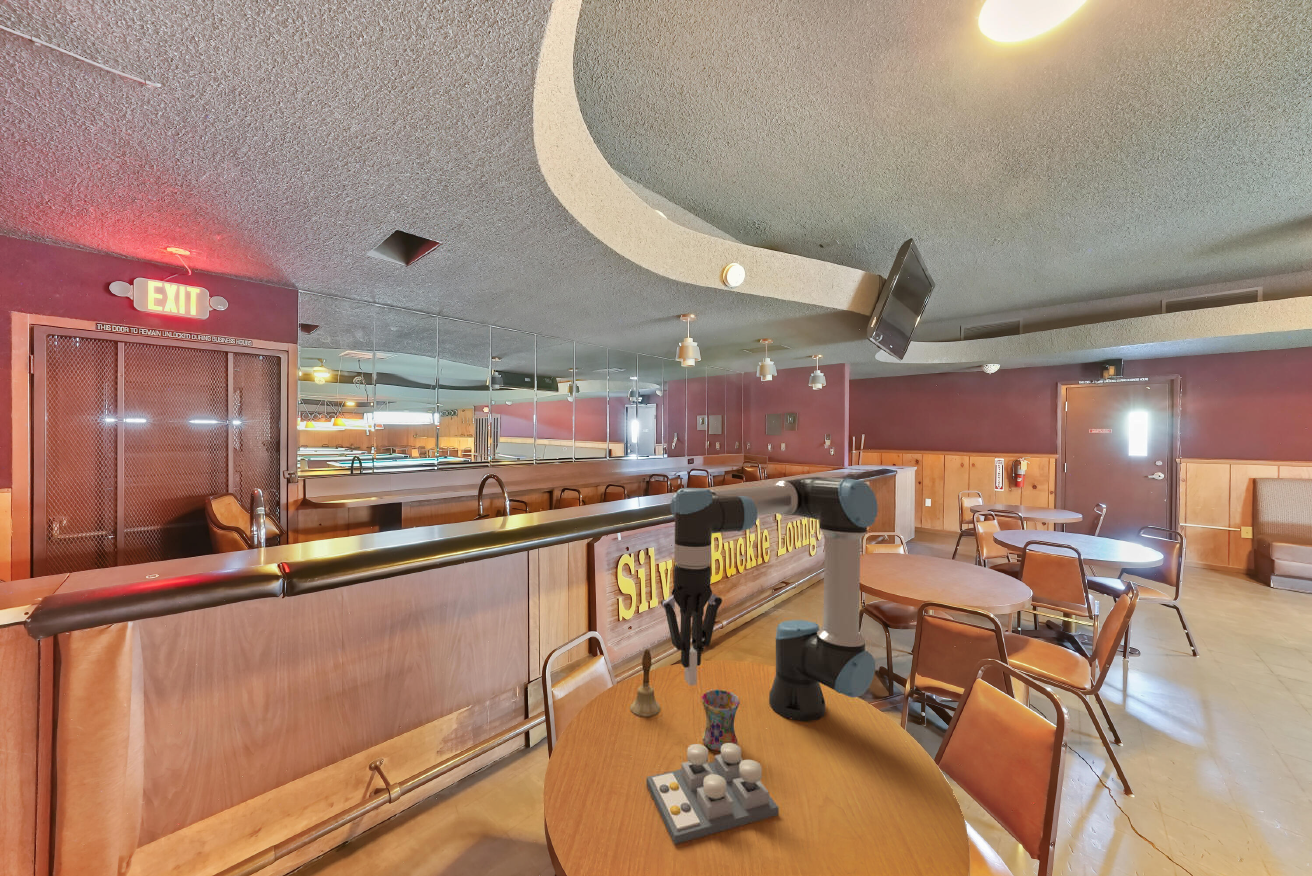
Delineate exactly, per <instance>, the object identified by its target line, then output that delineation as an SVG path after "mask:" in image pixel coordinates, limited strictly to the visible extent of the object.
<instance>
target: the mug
mask: <svg viewBox="0 0 1312 876" xmlns="http://www.w3.org/2000/svg"><path fill="white" fill-rule="evenodd" d="M700 701H701V703H702V706H703V709H704V712H705V718H706V719H705V721H706V722H705V723H706V725H705V729H704V732H703V734H702V737H701V738H702V741H703V743H704V746H705V747H706V748H709V749H711V750H713V751H715V752H721V746H722V745H723V744H725V743H733V744H736V745H738V738H737V735H736V731H735V717H736V713H737V711H738V708H739V706H740V702H741V701H740V699H739V697H738V696H737V695H736V694H735V693H733V692H731V691H728V690H725V689H724V690H722V689H711V690H708V691H705V692H704V693H703V694H702V696H701V698H700Z"/></svg>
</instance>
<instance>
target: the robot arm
mask: <svg viewBox="0 0 1312 876" xmlns="http://www.w3.org/2000/svg"><path fill="white" fill-rule="evenodd" d="M878 511H879V509H878V500H877V497H876V494H875V492H874V490H873V489H872V487H871V486H870V485H869V484H868V483H867V482H865V481H863V480H858V479H852V478H849V477H848V478H847V477H846V478H838V477H837V478H836V477H821V476H811V477H803V478H795V479H789V480H781V481H778V482H776V483H775V484H773V485H762V486H751V487H749V486H748V487H741V488H740V487H739V488H725V489H714V490H713V489H712V490H711V489H709V488H702V487H701V488H700V487H697V488H696V487H684V488H679V489H678V490H677V491H676V493H675V494H674V495H673V496H672V498H671V501H670V512H671V514H672V516H673V517H674V550H673V552H674V553H673V554H674V556H673V557H674V560H673V562H674V563H675V565H674V566H673V589H672V590H671V595H670V596H669V597H668V598H666V599H662V600H661V601H660V604H661V606H662V608H663V609H664V611H665V614H666V619H667V625H668V630H669V634H670V638H671V639H670V640H671V644H672V646H674V648H675V649H676V650H678V651H680V665H682V666H683V668H684V680H685V682H686V683H687V684H688V685H689V686H695V685H696V686H697V684H698V683H697V682H698V666H699V667H700V665H701V663H702V652H703V651H704V647H709V646H710V645H711V641H712V636H713V631H714V627H715V623H716V619H717V613H718V610H719V608H720V606H721V604H722V603H723V599H722V598H721V597H720V596H718V595H716V594H715V593H713V590H712V588H711V582H712V580H711V579H712V568H711V566H710V565H711V564H712V536H713V534H719V533H733V532H738V533H739V532H740V533H741V532H742V531H743V532H744V531H747V530H750V529H752V528H753V527H754V526H755V525H756V524H757V523H756V522H757V521H758V516H764V515H765V516H766V515H773V514H774V515H775V514H779V515H780V516H783V517H787V516H797V517H802V518H808V519H812V520H818V521H819V523H818V529H819V530H820V531H821V532H822V534H823V535H824V570H823V571H824V572H823V573H824V574H823V575H824V577H823V617H822V618H823V622H822V623H823V624H822V625H823V626H822V627H820V626H819V624H818V623H816V622H814V621H811V620H810V621H809V620H800V619H792V620H791V619H790V620H786V621H782V622H780V623H779V624H778V625H777V627H776V633H775V634H776V635H775V676H774V680H773V682H772V686H771V689H770V692H769V700H768V703H769V706H770V707H771V709H772V710H773V711H774V712H776V713H777V714H778V715H781V716H782V717H785V718H786V719H787V718H788V719H790V720H793V721H798V722H799V721H800V722H812V721H818V720H819V719H821V718H823V717H824V716H825V714H826V700H825V698H824V697H825V696H824V694H823V690H822V687H821V684H822V685H824V686H825V687H826V688H827V687H828V688H830V689H831V690H834V691H835V692H836V693H838V694H842V695H845V696H846V697H849V698H857V697H860V696H862V695H863V694H865V692H866V691H867V690H868V689H869V687H870V686H871V684H872V683H873V680H874V677H875V673H876V660H875V658H874V656H873V655H872V654H871V653H870V652H869V651H866V639H865V637H864V636H863V635H862V634H861V633H860V590H861V589H860V586H861V585H860V583H861V582H860V579H861V539H862V538H863V537H864V536H865V535H866V534H867V533H868V528H869V527H871V526H873V524H874V523H875V522H876V518H877V516H878V514H879V513H878ZM675 603H676V604H675ZM676 605H677V606H678V608H679V613H680V629H679V624H678V623H679V622H678V619H677V614H676V611H675V610H674V609H676ZM706 605H707V606H706ZM705 607H706V610H705V611H704V609H705ZM703 617H704V618H703ZM691 645H692V646H691Z"/></svg>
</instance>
